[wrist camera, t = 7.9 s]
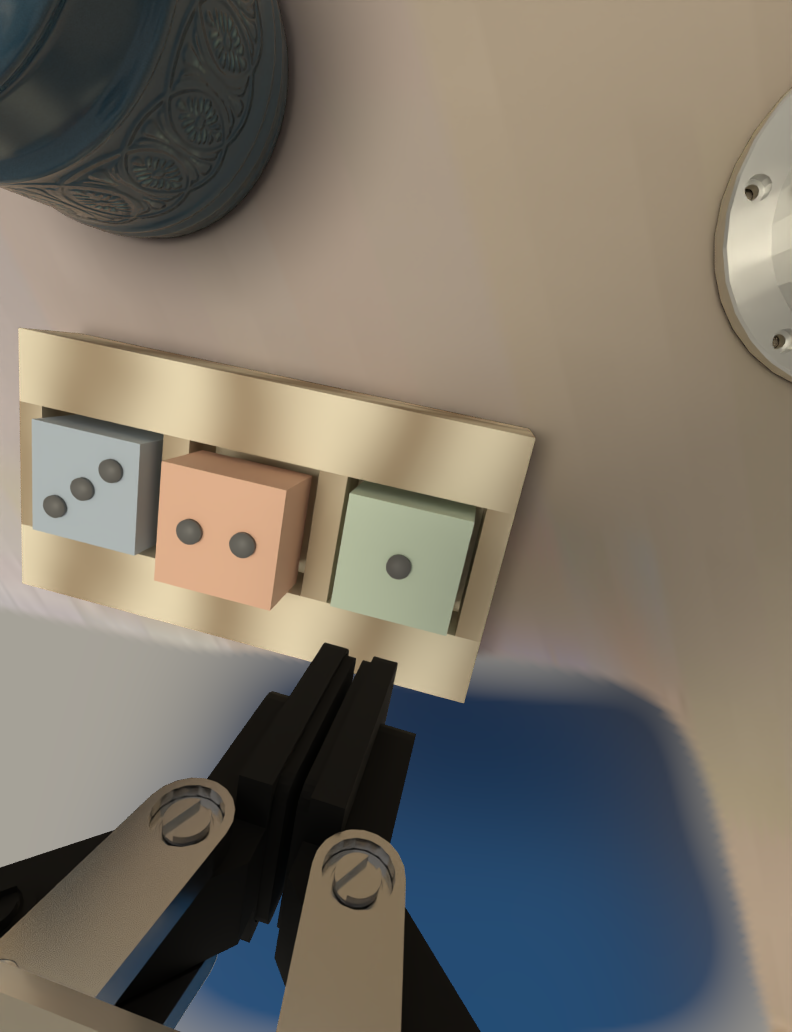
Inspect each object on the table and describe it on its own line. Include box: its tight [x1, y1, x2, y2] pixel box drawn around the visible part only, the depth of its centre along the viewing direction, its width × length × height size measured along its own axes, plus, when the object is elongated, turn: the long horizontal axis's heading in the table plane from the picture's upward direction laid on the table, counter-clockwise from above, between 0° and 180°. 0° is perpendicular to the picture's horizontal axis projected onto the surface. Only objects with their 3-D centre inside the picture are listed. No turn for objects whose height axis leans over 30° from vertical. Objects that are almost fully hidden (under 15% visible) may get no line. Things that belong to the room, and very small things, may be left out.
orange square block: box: [154, 450, 312, 611], centre depth 22 cm, size 5×5×3 cm
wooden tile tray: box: [19, 328, 536, 703], centre depth 25 cm, size 22×12×4 cm, turn 79°
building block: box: [32, 414, 164, 556], centre depth 24 cm, size 5×5×3 cm
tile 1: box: [330, 480, 476, 636], centre depth 23 cm, size 5×5×3 cm
